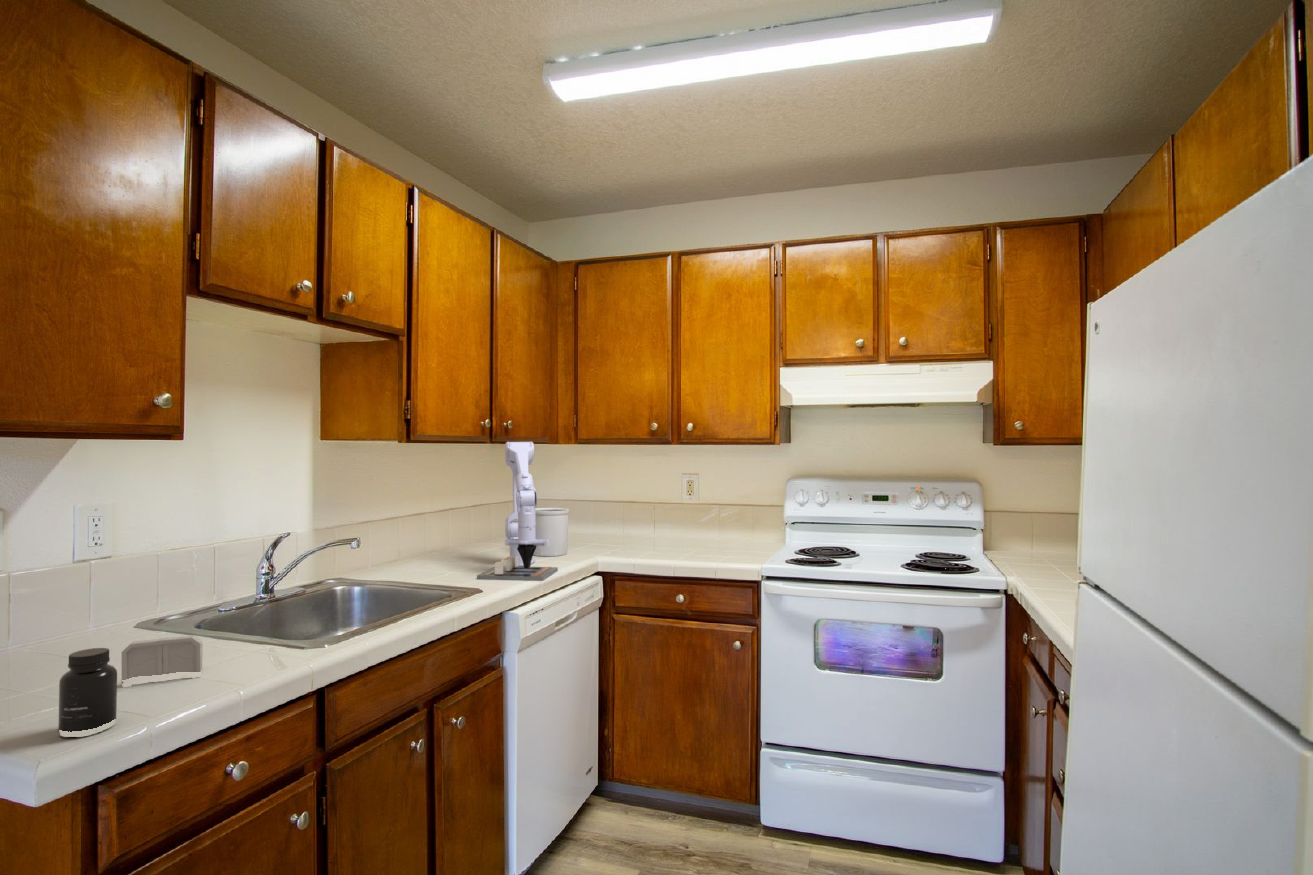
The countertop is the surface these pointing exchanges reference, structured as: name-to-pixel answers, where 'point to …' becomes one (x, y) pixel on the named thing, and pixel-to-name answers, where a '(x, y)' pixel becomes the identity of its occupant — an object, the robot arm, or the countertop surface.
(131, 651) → the light switch
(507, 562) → the block
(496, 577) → the breaker panel
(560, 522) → the utensil holder
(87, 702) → the supplement bottle
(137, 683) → the countertop surface
